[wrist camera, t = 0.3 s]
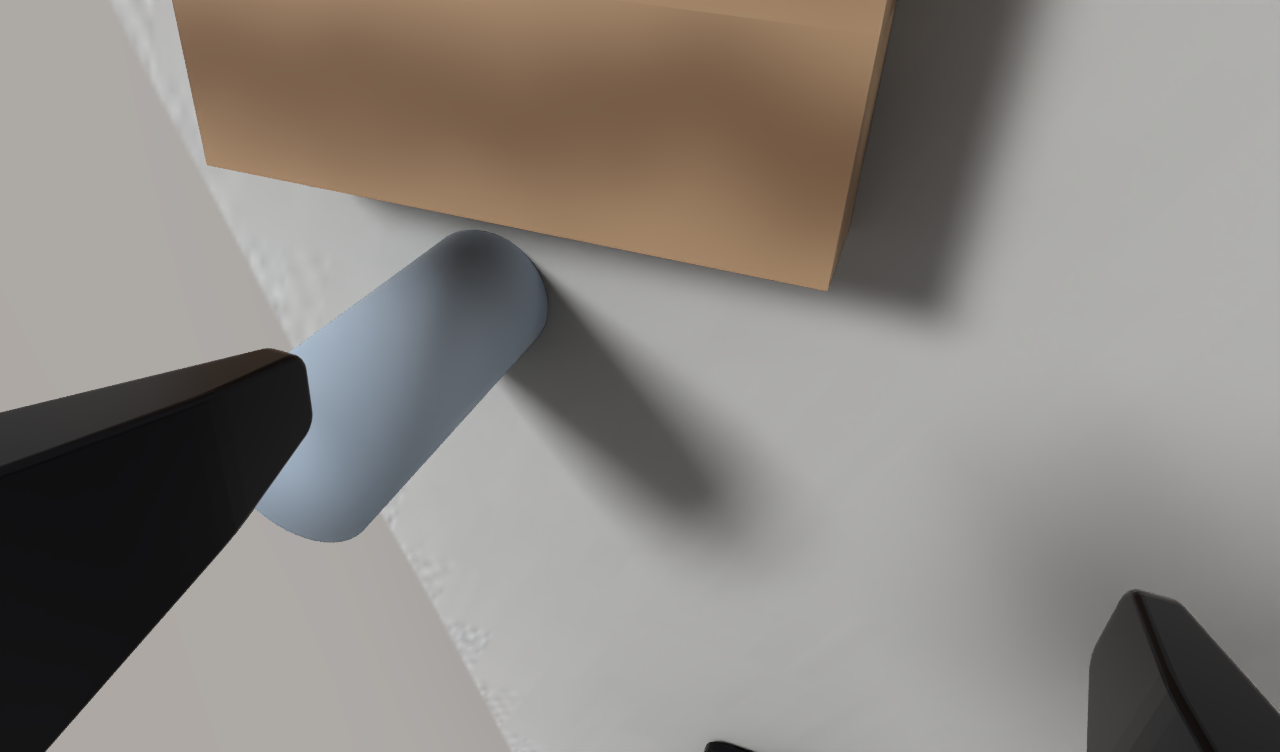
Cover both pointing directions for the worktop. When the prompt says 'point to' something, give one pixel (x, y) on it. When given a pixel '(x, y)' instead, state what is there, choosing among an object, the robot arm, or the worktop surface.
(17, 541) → the robot arm
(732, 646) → the worktop surface
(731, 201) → the socket board
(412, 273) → the peg
